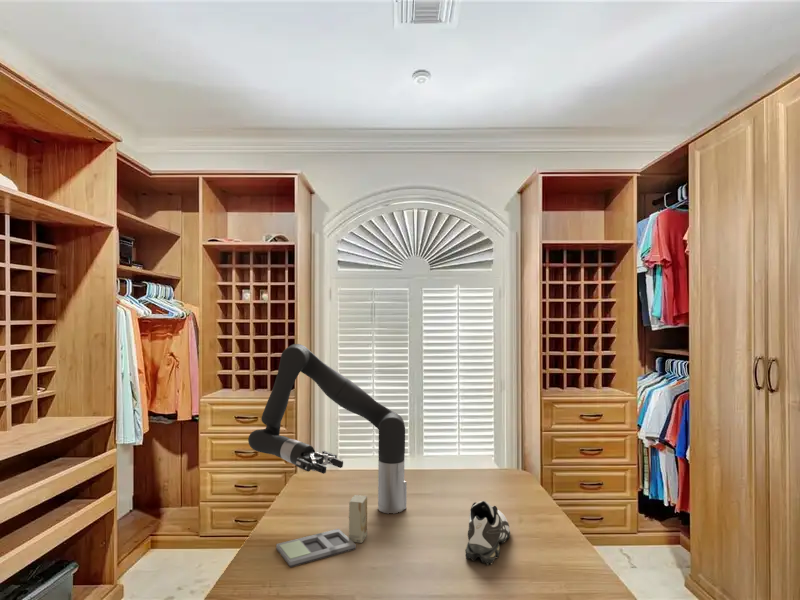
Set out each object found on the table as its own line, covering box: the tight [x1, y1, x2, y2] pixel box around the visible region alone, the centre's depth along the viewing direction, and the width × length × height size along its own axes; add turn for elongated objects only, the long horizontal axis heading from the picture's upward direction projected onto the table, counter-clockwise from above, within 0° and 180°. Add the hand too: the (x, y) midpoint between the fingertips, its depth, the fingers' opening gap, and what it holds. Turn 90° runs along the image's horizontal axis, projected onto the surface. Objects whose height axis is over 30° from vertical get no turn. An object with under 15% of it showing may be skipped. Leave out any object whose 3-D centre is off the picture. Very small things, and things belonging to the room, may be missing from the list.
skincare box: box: [348, 494, 368, 544], centre depth 155 cm, size 6×4×12 cm
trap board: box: [275, 528, 357, 568], centre depth 148 cm, size 20×12×2 cm, turn 122°
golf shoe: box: [464, 500, 511, 565], centre depth 153 cm, size 12×30×14 cm, turn 164°
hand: (334, 467), depth 162 cm, fingers open, 8 cm apart
